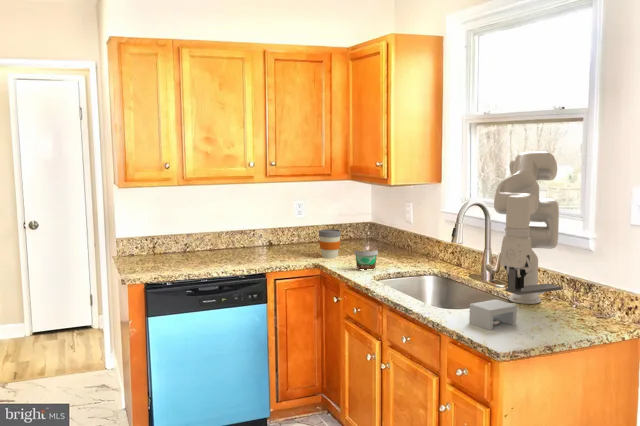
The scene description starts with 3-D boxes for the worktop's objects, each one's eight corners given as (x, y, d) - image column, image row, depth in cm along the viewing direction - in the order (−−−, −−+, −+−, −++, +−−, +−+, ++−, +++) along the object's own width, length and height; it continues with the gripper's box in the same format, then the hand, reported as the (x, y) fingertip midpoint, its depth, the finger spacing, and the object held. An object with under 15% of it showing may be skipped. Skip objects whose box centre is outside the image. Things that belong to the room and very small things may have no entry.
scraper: (517, 295, 205) (518, 271, 204) (504, 291, 210) (505, 267, 210) (561, 289, 214) (563, 266, 214) (548, 286, 220) (549, 263, 219)
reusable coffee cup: (322, 259, 345) (321, 232, 343) (316, 255, 357) (316, 229, 356) (343, 258, 349) (343, 231, 347) (337, 254, 361) (337, 228, 359)
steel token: (492, 321, 228) (492, 316, 228) (502, 325, 224) (503, 319, 224) (482, 323, 226) (482, 318, 226) (492, 327, 222) (492, 321, 221)
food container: (355, 271, 314) (355, 251, 313) (354, 268, 320) (354, 249, 319) (379, 271, 315) (379, 251, 313) (377, 268, 321) (378, 249, 320)
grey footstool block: (495, 317, 232) (496, 299, 232) (516, 324, 224) (516, 305, 223) (469, 322, 226) (469, 303, 225) (489, 330, 217) (490, 310, 217)
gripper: (491, 230, 212) (489, 283, 214) (527, 237, 197) (525, 294, 200) (508, 228, 215) (506, 281, 217) (544, 235, 201) (542, 291, 203)
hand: (515, 286), depth 208 cm, fingers closed on scraper, 3 cm apart
